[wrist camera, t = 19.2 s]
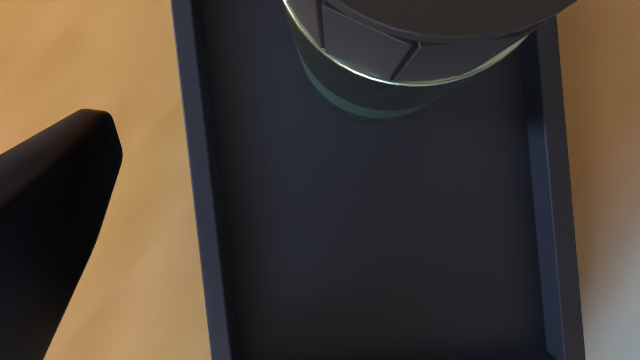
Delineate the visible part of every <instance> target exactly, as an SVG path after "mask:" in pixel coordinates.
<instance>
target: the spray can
mask: <svg viewBox="0 0 640 360" xmlns="http://www.w3.org/2000/svg"><path fill="white" fill-rule="evenodd" d="M281 1H282V4H283V7H284V10H285V13H286V16H287V19H288V22H289V25H290V28H291V31H292V34H293V37H294V41H295V44H296V47H297V50H298V53H299V56H300V59H301V62H302V65H303V67H304V70H305V73H306V76H307V78H308V81H309V83H310V85H311V87H312V88H313V90H314V91H315V93H316V94H317V95H318V97H319V98H320V99H321V100H322V101H323V102H324V103H325V104H326V105H327V106H328V107H329V108H331V109H332V110H333V111H335V112H336V113H338V114H340V115H342V116H344V117H346V118H349V119H351V120H354V121H358V122H363V123H386V122H392V121H395V120H398V119H401V118H404V117H406V116H408V115H410V114H412V113H413V112H415V111H417V110H419V109H421V108H423V107H424V106H426V105H428V104H429V103H431V102H433V101H434V100H436V99H438V98H439V97H441V96H443V95H444V94H446V93H447V92H449V91H451V90H452V89H454V88H456V87H457V86H459V85H461V84H462V83H464V82H466V81H468V80H469V79H471V78H473V77H474V76H476V75H478V74H479V73H481V72H483V71H484V70H486V69H488V68H489V67H491V66H493V65H494V64H496V63H497V62H499V61H501V60H502V59H503V58H505V57H506V56H507V55H508V54H509V53H511V52H512V51H513V50H514V49H516V48H517V47H518V46H519V45H520V44H521V43H522V42H523V41H524V39H525V38H526V37H527V36H528V35H527V36H526V37H524V38H522V39H521V40H519V41H518V42H516V43H515V44H513V45H512V46H510V47H508V48H507V49H505V50H504V51H502V52H501V53H499V54H498V55H496V56H494V57H493V58H491V59H490V60H488V61H487V62H485V63H483V64H482V65H480V66H479V67H477V68H476V69H474V70H473V71H471V72H469V73H467V72H466V73H465V74H463V75H461V76H453V77H443V78H433V79H423V80H413V81H403V82H393V76H391V77H390V79H389V80H388V81H386V80H383V79H381V78H379V77H377V76H375V75H373V74H370V73H368V72H366V71H364V70H362V69H359V68H357V67H355V66H353V65H351V64H348V63H346V62H344V61H342V60H340V59H337V58H335V57H333V56H331V55H329V54H327V53H326V52H325V47H324V48H322V49H321V48H319V46H318V45H317V43H316V42H315V40H314V39H313V38H312V36H311V35H310V33H309V32H308V31H307V29H306V28H305V26H304V25H303V23H302V22H301V21H300V19H299V18H298V16H297V15H296V14H295V12H294V11H293V9H292V8H291V6H290V5H289V4H288V2H287V1H286V0H281Z"/></svg>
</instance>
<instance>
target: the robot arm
mask: <svg viewBox="0 0 640 360" xmlns="http://www.w3.org/2000/svg"><path fill="white" fill-rule="evenodd" d="M122 155H123V153H122V147H121V144H120V140H119V137H118V134H117V131H116V127H115V124H114V121H113V118H112V116H111V115H110V114H109V113H108V112H106V111H100V110H93V109H80V110H78V111H76V112H74V113H73V114H71V115H69V116H67V117H66V118H64V119H62V120H60V121H59V122H57V123H55V124H53V125H52V126H50V127H48V128H46V129H45V130H43V131H41V132H39V133H38V134H36V135H34V136H32V137H31V138H29V139H27V140H25V141H24V142H22V143H20V144H18V145H17V146H15V147H13V148H11V149H10V150H8V151H6V152H4V153H3V154H1V155H0V360H43V359H44V357H45V354H46V352H47V350H48V348H49V346H50V343H51V341H52V339H53V337H54V335H55V332H56V330H57V328H58V326H59V324H60V321H61V319H62V317H63V315H64V313H65V310H66V308H67V306H68V304H69V302H70V300H71V297H72V295H73V293H74V291H75V289H76V286H77V284H78V282H79V280H80V278H81V275H82V273H83V271H84V269H85V267H86V264H87V262H88V260H89V258H90V256H91V253H92V251H93V249H94V246H95V244H96V241H97V238H98V235H99V232H100V230H101V226H102V223H103V220H104V217H105V214H106V211H107V207H108V204H109V201H110V198H111V195H112V192H113V189H114V185H115V182H116V179H117V176H118V173H119V170H120V166H121V163H122Z"/></svg>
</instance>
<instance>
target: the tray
mask: <svg viewBox="0 0 640 360" xmlns="http://www.w3.org/2000/svg"><path fill="white" fill-rule="evenodd" d="M171 8H172V17H173V26H174V35H175V43H176V52H177V61H178V69H179V78H180V87H181V96H182V104H183V113H184V122H185V130H186V139H187V148H188V157H189V165H190V174H191V183H192V191H193V200H194V209H195V218H196V226H197V235H198V244H199V252H200V261H201V270H202V279H203V287H204V296H205V305H206V313H207V322H208V331H209V340H210V348H211V357H212V360H585V348H584V336H583V325H582V313H581V301H580V289H579V278H578V266H577V254H576V242H575V231H574V219H573V207H572V196H571V184H570V172H569V160H568V149H567V137H566V125H565V114H564V102H563V90H562V78H561V67H560V55H559V43H558V31H557V20H556V15H555V16H554V17H553V18H551V19H550V20H548V21H547V22H546V23H544V24H543V25H541V26H540V27H538V28H537V29H536V30H534V31H533V32H531V33H530V34H529V35H528V36H527V37H526V38H525V39H524V41H523V42H522V43H521V44H520V45H519V46H518V47H517V48H516V49H514V50H513V51H512V52H511V53H509V54H508V55H507V56H506V57H505V58H503V59H502V60H501V61H499V62H497V63H496V64H494V65H493V66H491V67H489V68H488V69H486V70H484V71H483V72H481V73H479V74H478V75H476V76H474V77H473V78H471V79H469V80H468V81H466V82H464V83H462V84H461V85H459V86H457V87H456V88H454V89H452V90H451V91H449V92H447V93H446V94H444V95H443V96H441V97H439V98H438V99H436V100H434V101H433V102H431V103H429V104H428V105H426V106H424V107H423V108H421V109H419V110H417V111H415V112H413V113H412V114H410V115H408V116H406V117H404V118H401V119H398V120H395V121H392V122H386V123H363V122H358V121H354V120H351V119H349V118H346V117H344V116H342V115H340V114H338V113H336V112H335V111H333V110H332V109H331V108H329V107H328V106H327V105H326V104H325V103H324V102H323V101H322V100H321V99H320V98H319V97H318V95H317V94H316V93H315V91H314V90H313V88H312V87H311V85H310V83H309V81H308V78H307V76H306V73H305V70H304V67H303V65H302V62H301V59H300V56H299V53H298V50H297V47H296V44H295V41H294V37H293V34H292V31H291V28H290V25H289V22H288V19H287V16H286V13H285V10H284V7H283V4H282V1H281V0H171Z"/></svg>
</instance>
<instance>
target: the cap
mask: <svg viewBox="0 0 640 360" xmlns="http://www.w3.org/2000/svg"><path fill="white" fill-rule="evenodd" d="M286 1H287V2H288V4H289V5H290V6H291V8H292V9H293V11H294V12H295V14H296V15H297V16H298V18H299V19H300V21H301V22H302V23H303V25H304V26H305V28H306V29H307V31H308V32H309V33H310V35H311V36H312V38H313V39H314V40H315V42H316V43H317V45H318V46H319V48H321V49H322V48H324V47H325V52H326V53H327V54H329V55H331V56H333V57H335V58H337V59H340V60H342V61H344V62H346V63H348V64H351V65H353V66H355V67H357V68H359V69H362V70H364V71H366V72H368V73H370V74H373V75H375V76H377V77H379V78H381V79H383V80H386V81H388V80H389V79H390V77H391V76H393V82H403V81H413V80H423V79H433V78H443V77H453V76H461V75H463V74H465V73H466V72H467V73H469V72H471V71H473V70H474V69H476V68H477V67H479V66H480V65H482V64H483V63H485V62H487V61H488V60H490V59H491V58H493V57H494V56H496V55H498V54H499V53H501V52H502V51H504V50H505V49H507V48H508V47H510V46H512V45H513V44H515V43H516V42H518V41H519V40H521V39H522V38H524V37H526V36H527V35H529V34H530V33H531V32H533V31H534V30H536V29H537V28H538V27H540V26H541V25H543V24H544V23H546V22H547V21H548V20H550V19H551V18H553V17H554V16H555V15H557V14H558V13H560V12H561V11H562V10H564V9H565V8H567V7H568V6H570V5H571V4H573V3H574V2H576V1H577V0H286Z"/></svg>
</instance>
